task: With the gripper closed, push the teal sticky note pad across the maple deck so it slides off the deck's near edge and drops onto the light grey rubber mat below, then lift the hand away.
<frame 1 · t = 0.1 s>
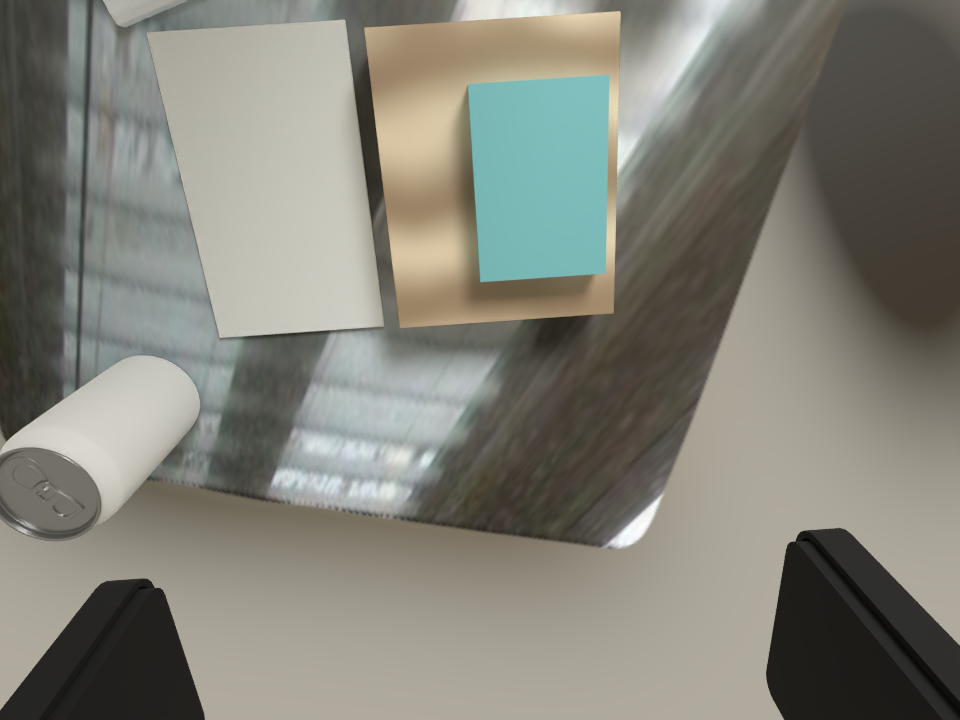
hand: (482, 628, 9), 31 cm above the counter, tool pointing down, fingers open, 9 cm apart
can: (156, 394, 41), on the counter
deck: (496, 177, 36), on the counter
mat: (277, 192, 36), on the counter
teal sticky note pad: (536, 181, 33), point 4 cm above the counter, touching deck
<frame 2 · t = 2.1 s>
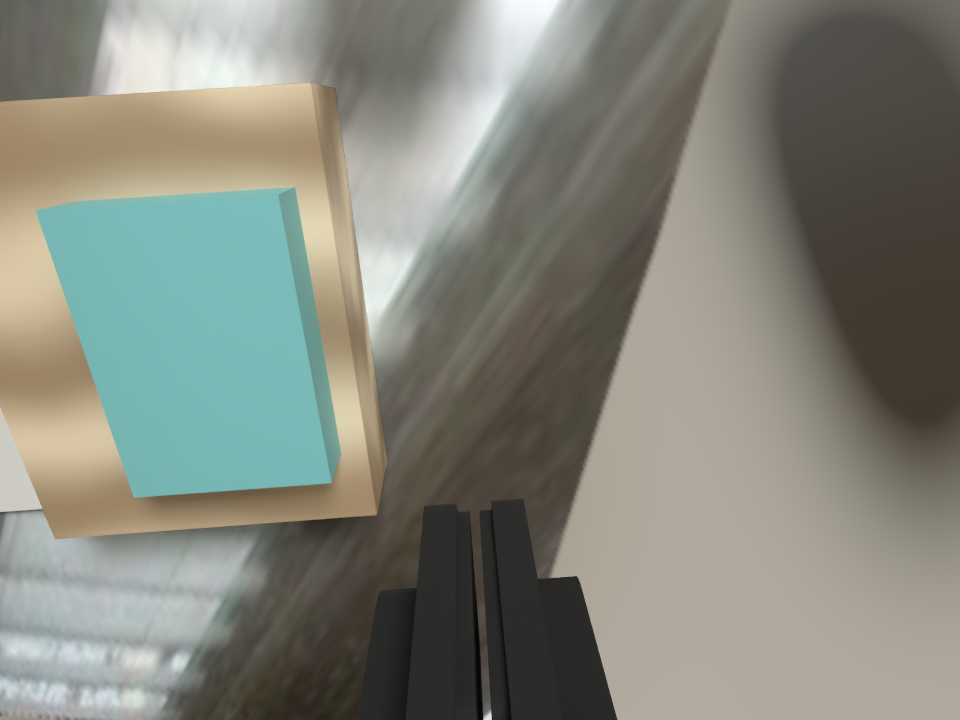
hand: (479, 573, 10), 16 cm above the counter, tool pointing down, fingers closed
deck: (208, 309, 24), on the counter
teal sticky note pad: (221, 339, 21), point 4 cm above the counter, touching deck
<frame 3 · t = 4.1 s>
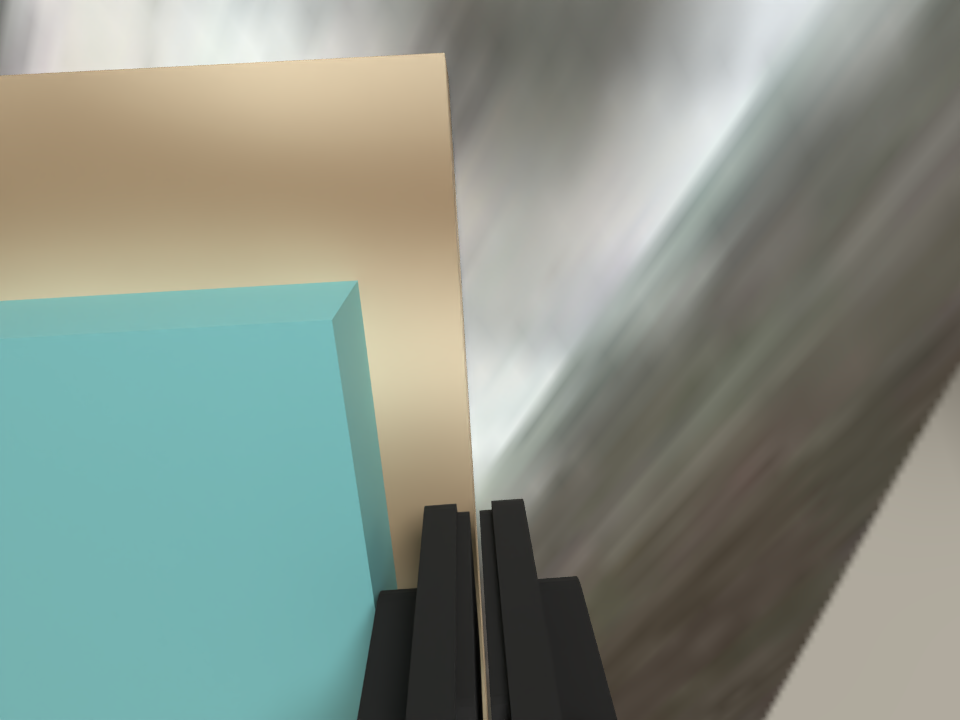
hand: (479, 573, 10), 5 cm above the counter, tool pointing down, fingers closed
deck: (207, 449, 14), on the counter
teal sticky note pad: (201, 557, 11), point 4 cm above the counter, touching gripper
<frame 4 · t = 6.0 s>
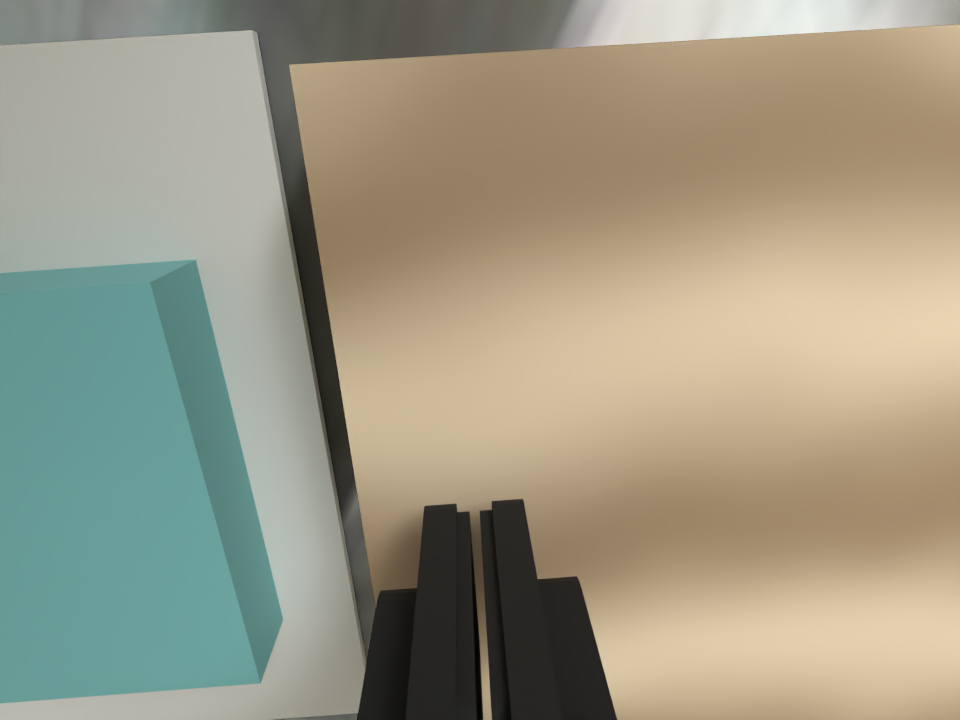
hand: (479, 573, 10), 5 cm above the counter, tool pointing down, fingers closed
deck: (649, 422, 15), on the counter
mat: (105, 459, 14), on the counter
teal sticky note pad: (47, 524, 12), point 2 cm above the counter, tilted 180°, touching mat
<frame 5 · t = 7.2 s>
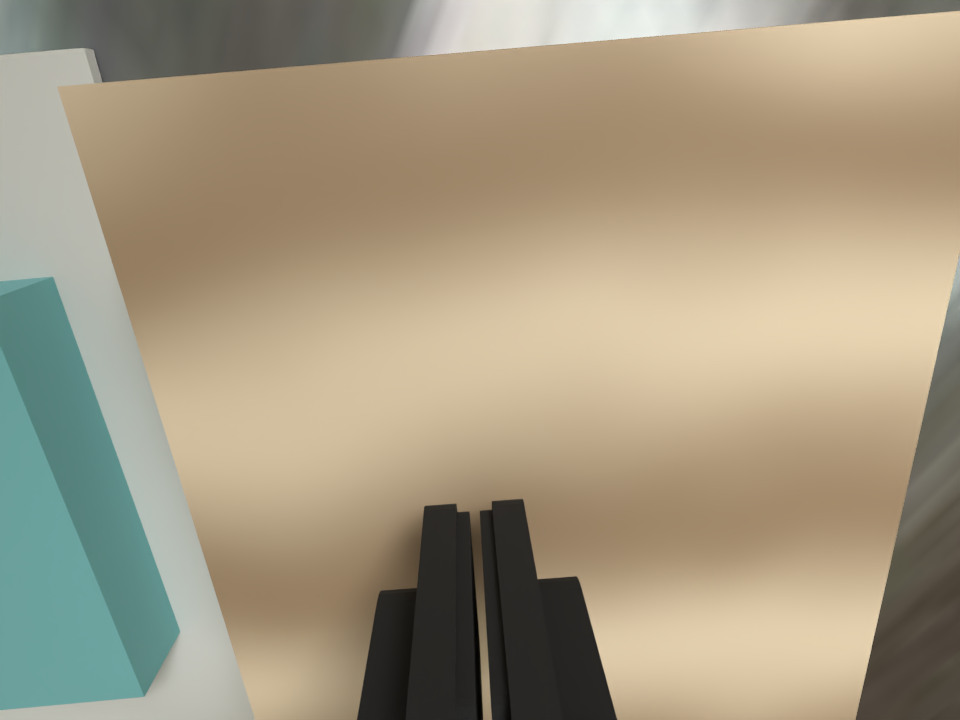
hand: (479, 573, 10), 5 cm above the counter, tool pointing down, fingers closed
deck: (530, 428, 15), on the counter
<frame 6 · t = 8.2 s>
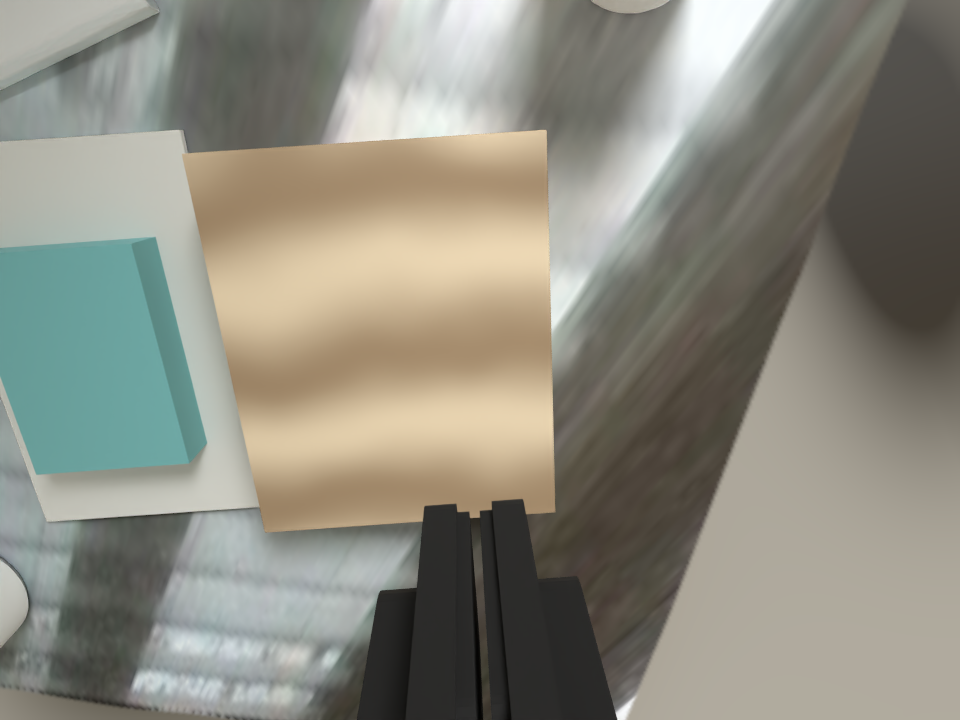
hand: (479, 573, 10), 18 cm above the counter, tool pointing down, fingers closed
deck: (399, 325, 27), on the counter
mat: (109, 345, 27), on the counter
teal sticky note pad: (80, 366, 25), point 2 cm above the counter, tilted 180°, touching mat
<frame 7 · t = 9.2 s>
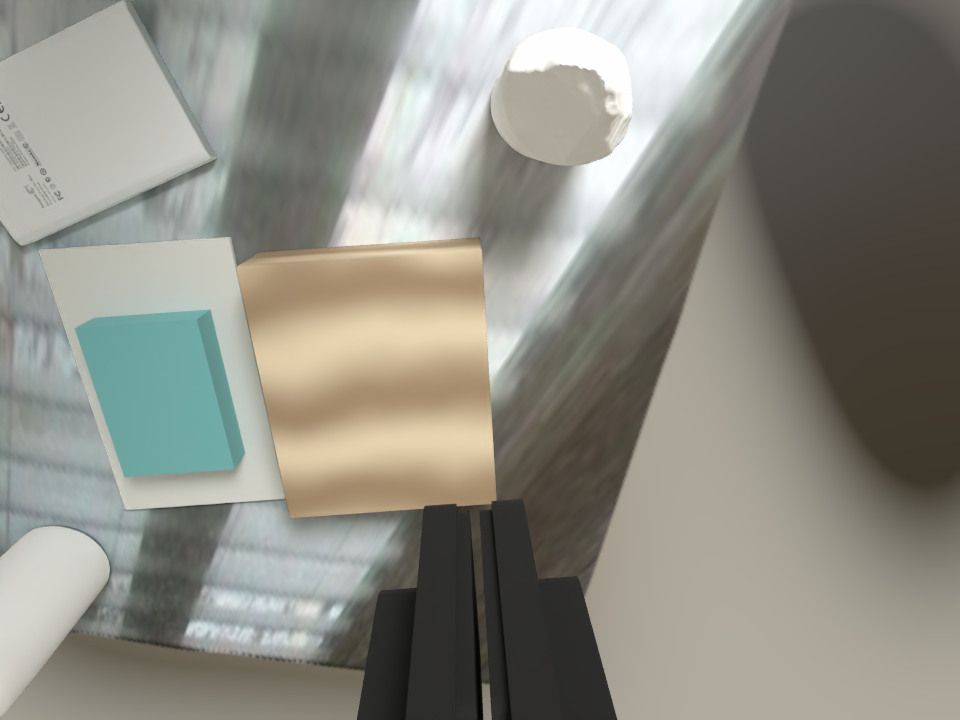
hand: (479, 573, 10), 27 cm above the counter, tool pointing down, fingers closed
can: (68, 557, 42), on the counter
deck: (385, 369, 38), on the counter
mat: (174, 383, 38), on the counter
teal sticky note pad: (158, 402, 36), point 2 cm above the counter, tilted 180°, touching mat
external hard drive: (85, 130, 33), on the counter
roll: (543, 105, 33), on the counter
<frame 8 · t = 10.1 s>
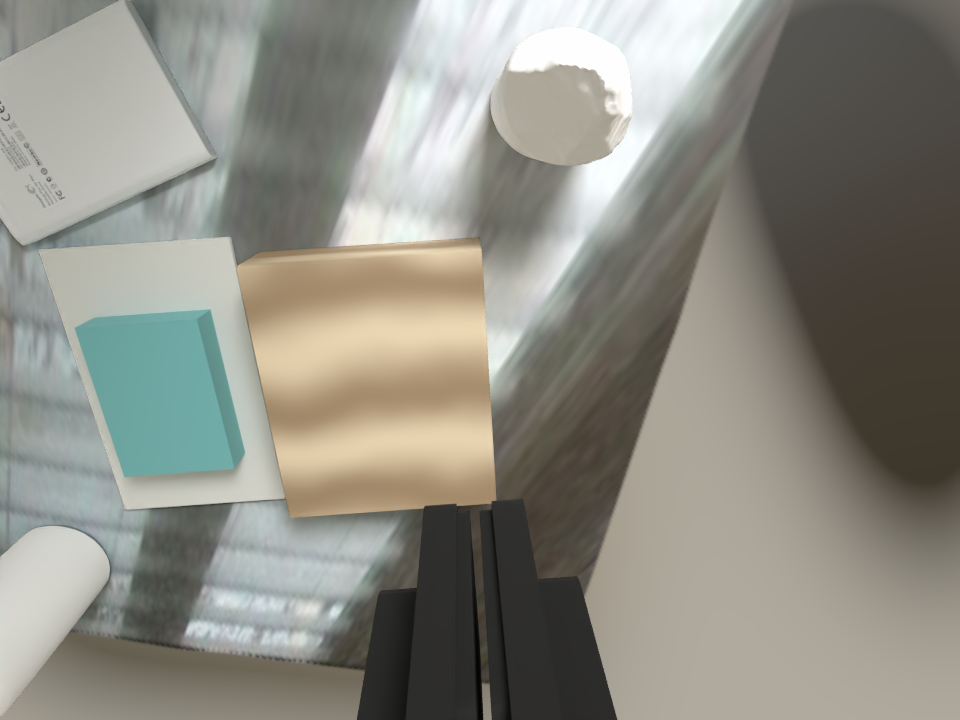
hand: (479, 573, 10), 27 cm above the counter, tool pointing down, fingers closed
can: (68, 557, 42), on the counter
deck: (385, 369, 38), on the counter
mat: (174, 383, 38), on the counter
teal sticky note pad: (158, 402, 36), point 2 cm above the counter, tilted 180°, touching mat
external hard drive: (86, 130, 33), on the counter
roll: (543, 105, 33), on the counter
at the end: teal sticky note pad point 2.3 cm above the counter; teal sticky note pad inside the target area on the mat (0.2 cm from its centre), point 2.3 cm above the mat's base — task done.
